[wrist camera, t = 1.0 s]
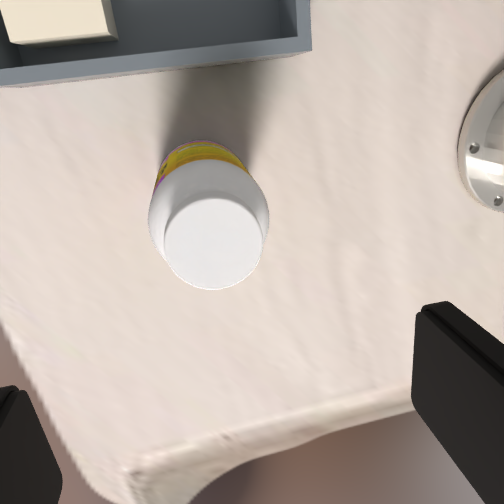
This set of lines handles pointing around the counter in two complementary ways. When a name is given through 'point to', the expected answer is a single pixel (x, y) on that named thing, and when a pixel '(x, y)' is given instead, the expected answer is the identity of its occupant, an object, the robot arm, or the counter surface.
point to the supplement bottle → (207, 216)
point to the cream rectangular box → (58, 22)
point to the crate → (166, 40)
